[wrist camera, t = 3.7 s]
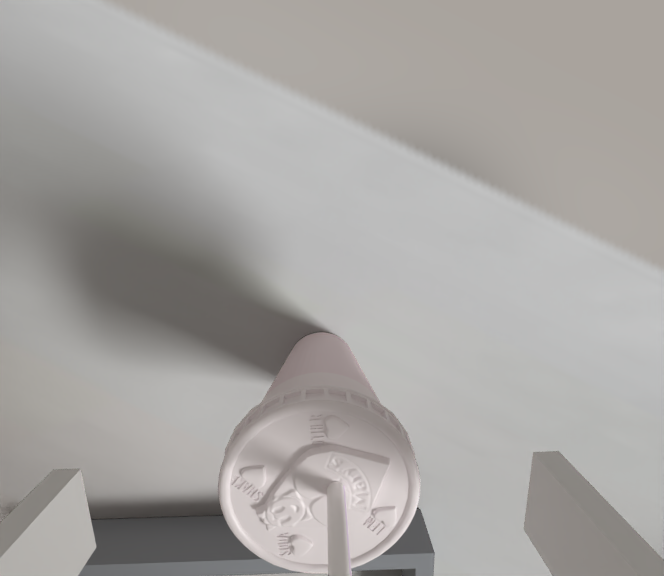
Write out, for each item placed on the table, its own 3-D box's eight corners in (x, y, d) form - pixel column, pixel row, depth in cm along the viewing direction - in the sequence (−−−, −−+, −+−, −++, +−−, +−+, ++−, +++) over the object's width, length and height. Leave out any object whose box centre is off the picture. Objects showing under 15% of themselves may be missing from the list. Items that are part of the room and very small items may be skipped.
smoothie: (396, 384, 21) (531, 713, 7) (298, 431, 22) (255, 819, 8) (346, 288, 20) (398, 471, 6) (243, 340, 20) (77, 617, 7)
